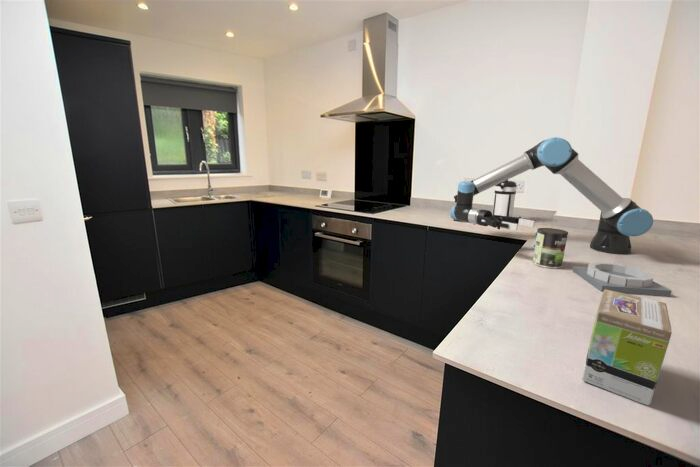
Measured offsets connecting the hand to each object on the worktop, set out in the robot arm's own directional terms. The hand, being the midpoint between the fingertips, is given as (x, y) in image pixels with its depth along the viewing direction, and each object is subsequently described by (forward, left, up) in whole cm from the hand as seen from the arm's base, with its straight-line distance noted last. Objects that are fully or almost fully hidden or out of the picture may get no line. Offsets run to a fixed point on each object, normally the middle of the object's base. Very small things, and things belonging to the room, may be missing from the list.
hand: (525, 225), depth 132 cm
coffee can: (-7, +7, -14) cm, 18 cm away
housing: (-23, +23, -14) cm, 36 cm away
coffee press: (-12, -82, -14) cm, 84 cm away
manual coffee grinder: (+14, -79, -14) cm, 81 cm away
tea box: (+6, +77, -14) cm, 79 cm away
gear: (-15, -19, -14) cm, 28 cm away
